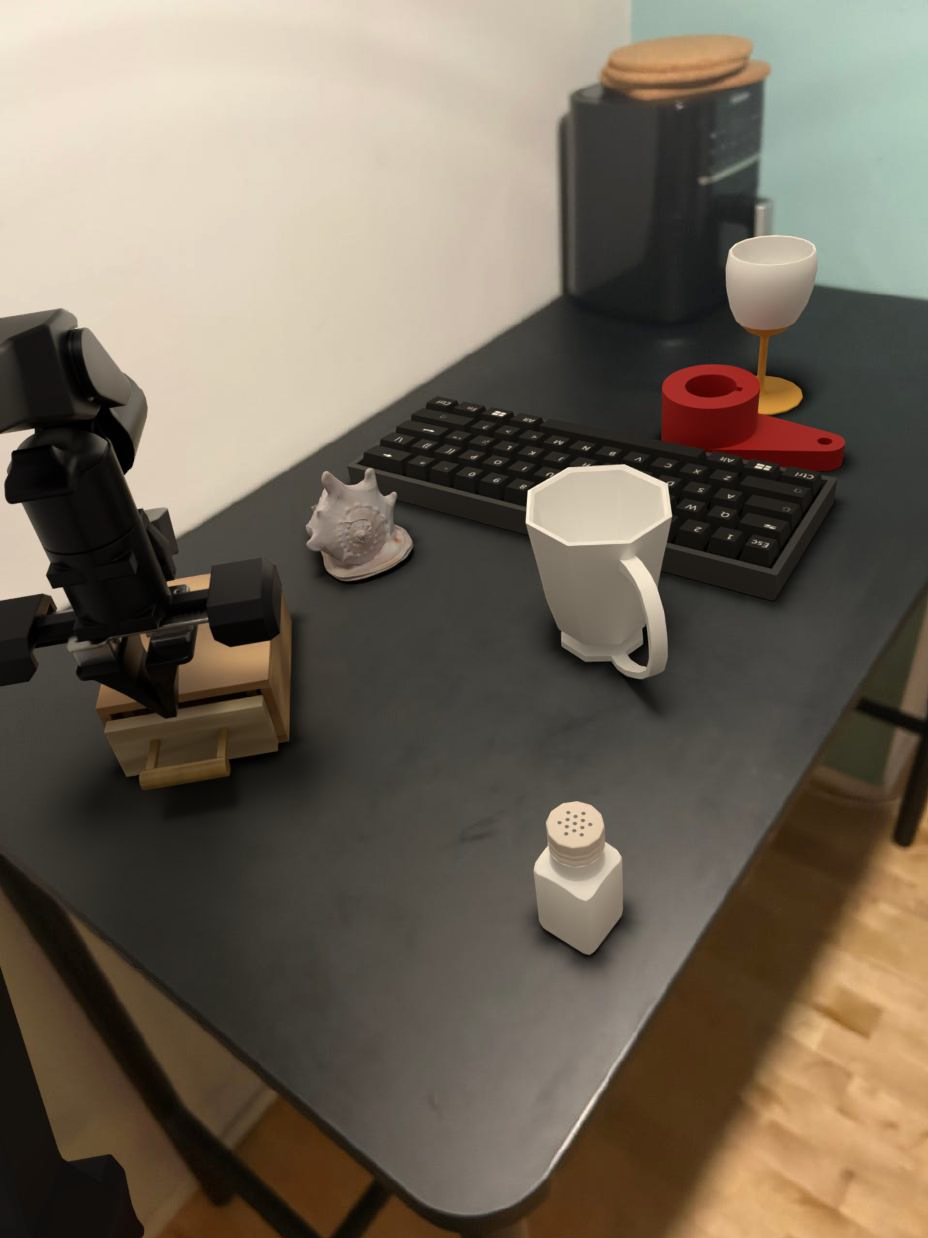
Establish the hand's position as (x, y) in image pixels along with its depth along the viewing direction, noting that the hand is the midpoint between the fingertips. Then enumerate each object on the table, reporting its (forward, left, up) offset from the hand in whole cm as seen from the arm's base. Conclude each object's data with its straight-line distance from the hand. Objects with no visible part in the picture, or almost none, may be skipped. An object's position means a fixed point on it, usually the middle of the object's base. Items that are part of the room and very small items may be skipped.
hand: (172, 713), depth 66 cm
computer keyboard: (+46, -3, -8) cm, 47 cm away
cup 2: (+72, -10, -8) cm, 73 cm away
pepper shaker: (+6, -29, -8) cm, 31 cm away
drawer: (+4, +4, -7) cm, 9 cm away
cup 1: (+28, -18, -8) cm, 34 cm away
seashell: (+28, +11, -8) cm, 31 cm away
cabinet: (+7, +7, -8) cm, 13 cm away
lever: (+61, -14, -8) cm, 63 cm away
